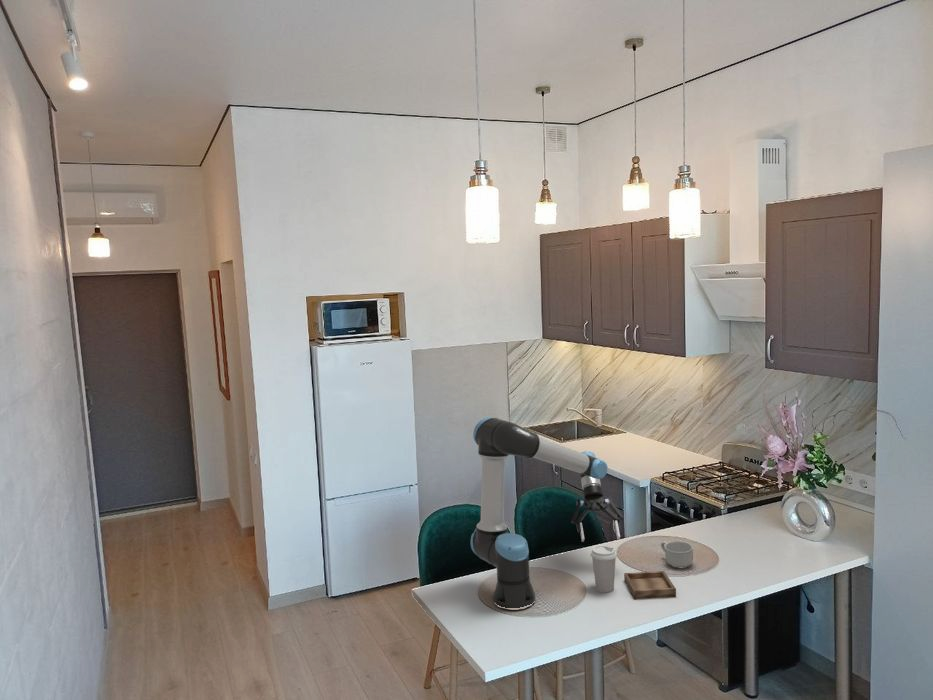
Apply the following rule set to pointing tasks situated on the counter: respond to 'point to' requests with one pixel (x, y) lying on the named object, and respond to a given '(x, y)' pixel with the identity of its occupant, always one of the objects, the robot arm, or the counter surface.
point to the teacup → (678, 553)
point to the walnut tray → (649, 585)
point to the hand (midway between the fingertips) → (600, 539)
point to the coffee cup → (604, 567)
